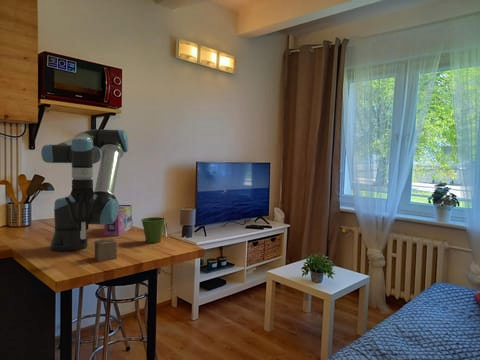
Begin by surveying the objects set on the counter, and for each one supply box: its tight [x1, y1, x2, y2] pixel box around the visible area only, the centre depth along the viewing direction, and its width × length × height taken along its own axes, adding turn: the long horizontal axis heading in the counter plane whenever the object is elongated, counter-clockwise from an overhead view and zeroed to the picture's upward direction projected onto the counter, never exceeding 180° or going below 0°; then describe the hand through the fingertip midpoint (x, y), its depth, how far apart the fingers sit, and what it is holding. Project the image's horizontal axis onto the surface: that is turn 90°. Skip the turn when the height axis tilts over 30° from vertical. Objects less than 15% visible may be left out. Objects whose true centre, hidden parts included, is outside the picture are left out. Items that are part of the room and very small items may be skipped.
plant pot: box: [140, 216, 166, 244], centre depth 171 cm, size 12×12×11 cm
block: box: [93, 238, 118, 263], centre depth 142 cm, size 7×7×7 cm
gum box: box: [103, 204, 133, 237], centre depth 192 cm, size 24×8×14 cm, turn 0°
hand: (82, 238), depth 136 cm, fingers closed
